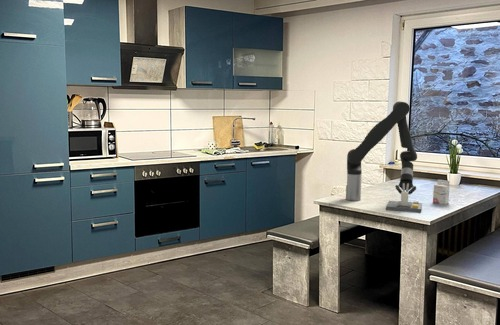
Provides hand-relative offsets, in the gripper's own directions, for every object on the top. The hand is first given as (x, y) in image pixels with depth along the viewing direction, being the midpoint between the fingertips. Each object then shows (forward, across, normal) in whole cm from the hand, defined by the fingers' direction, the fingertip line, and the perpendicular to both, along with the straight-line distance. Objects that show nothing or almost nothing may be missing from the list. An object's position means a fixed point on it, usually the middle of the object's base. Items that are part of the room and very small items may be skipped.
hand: (404, 199), depth 308 cm
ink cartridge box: (-12, +21, +20) cm, 32 cm away
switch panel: (+4, 0, +3) cm, 5 cm away
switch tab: (+4, 0, 0) cm, 4 cm away
